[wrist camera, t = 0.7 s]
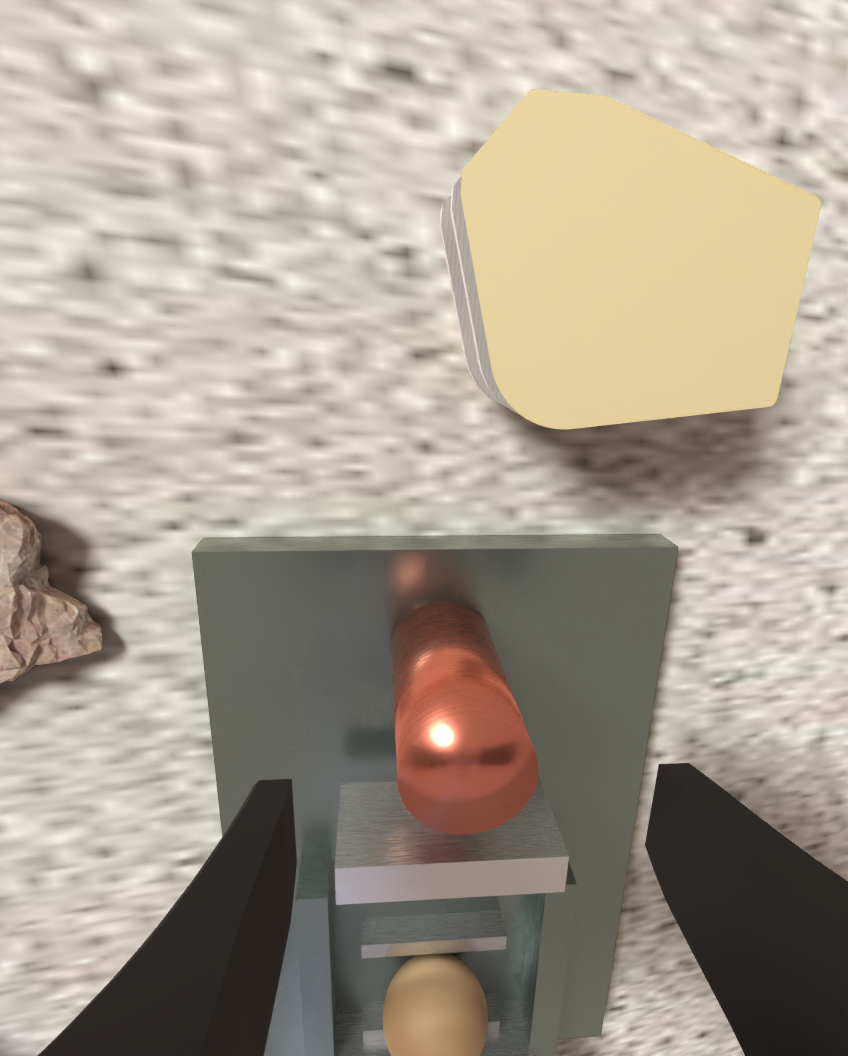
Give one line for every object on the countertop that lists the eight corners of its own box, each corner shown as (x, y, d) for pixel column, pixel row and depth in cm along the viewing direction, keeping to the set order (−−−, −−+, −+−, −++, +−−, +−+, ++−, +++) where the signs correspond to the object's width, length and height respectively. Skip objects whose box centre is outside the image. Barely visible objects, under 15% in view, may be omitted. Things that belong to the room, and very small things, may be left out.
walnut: (476, 994, 23) (494, 1109, 20) (381, 1000, 23) (383, 1119, 19) (480, 923, 22) (500, 1032, 19) (381, 929, 22) (382, 1042, 18)
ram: (527, 789, 20) (582, 953, 15) (343, 796, 19) (332, 969, 14) (544, 599, 18) (615, 712, 12) (338, 603, 17) (322, 722, 12)
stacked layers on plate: (757, 125, 16) (943, 26, 11) (693, 459, 19) (817, 508, 14) (378, 91, 15) (381, -37, 10) (369, 447, 18) (368, 495, 13)
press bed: (590, 1004, 26) (652, 1198, 20) (252, 1029, 24) (216, 1242, 19) (660, 534, 19) (782, 621, 13) (203, 537, 18) (123, 634, 12)
